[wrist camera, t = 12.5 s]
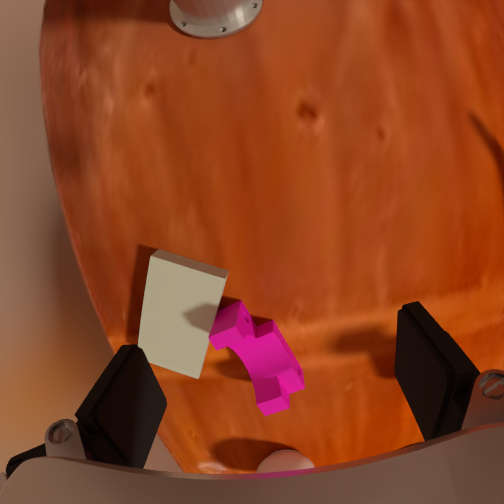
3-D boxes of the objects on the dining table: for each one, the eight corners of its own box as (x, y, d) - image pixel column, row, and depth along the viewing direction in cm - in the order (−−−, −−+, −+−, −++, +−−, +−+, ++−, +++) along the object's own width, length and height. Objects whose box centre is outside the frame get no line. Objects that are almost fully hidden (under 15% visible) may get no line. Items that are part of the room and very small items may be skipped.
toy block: (302, 369, 44) (306, 401, 37) (266, 383, 45) (265, 415, 38) (257, 291, 41) (254, 318, 34) (218, 309, 42) (207, 337, 35)
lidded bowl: (325, 462, 51) (330, 503, 41) (273, 477, 54) (271, 516, 43) (300, 434, 49) (303, 480, 38) (243, 451, 51) (237, 495, 40)
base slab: (159, 248, 41) (150, 255, 37) (229, 269, 41) (225, 279, 37) (144, 345, 45) (136, 357, 42) (202, 365, 46) (198, 378, 42)
